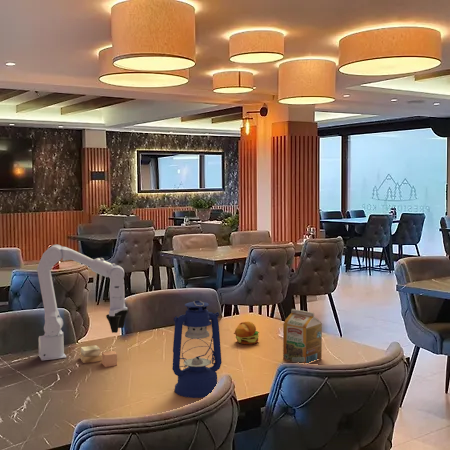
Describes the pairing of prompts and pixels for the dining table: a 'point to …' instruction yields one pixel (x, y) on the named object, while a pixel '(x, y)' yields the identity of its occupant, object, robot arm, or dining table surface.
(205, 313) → the lantern
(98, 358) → the bottom block
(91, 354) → the top block
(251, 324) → the cheeseburger
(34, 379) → the dining table surface
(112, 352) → the cube
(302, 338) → the milk carton
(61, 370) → the dining table surface
